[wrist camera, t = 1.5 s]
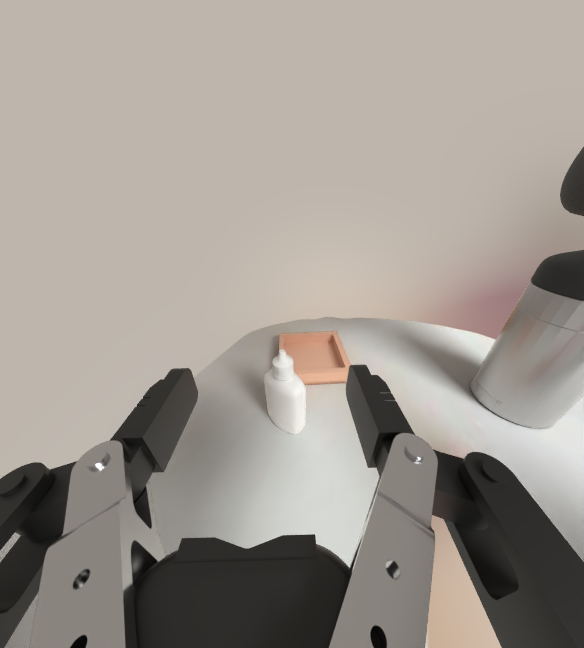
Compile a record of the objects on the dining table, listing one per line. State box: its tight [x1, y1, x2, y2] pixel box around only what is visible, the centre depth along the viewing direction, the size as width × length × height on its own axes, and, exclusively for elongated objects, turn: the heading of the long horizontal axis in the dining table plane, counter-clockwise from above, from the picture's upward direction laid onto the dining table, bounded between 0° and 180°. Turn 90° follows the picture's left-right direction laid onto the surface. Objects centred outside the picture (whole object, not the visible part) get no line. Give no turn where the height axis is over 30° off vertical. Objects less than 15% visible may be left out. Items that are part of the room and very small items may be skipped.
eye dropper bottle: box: [264, 349, 306, 434], centre depth 26 cm, size 4×6×12 cm
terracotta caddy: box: [279, 331, 351, 385], centre depth 39 cm, size 12×12×2 cm
